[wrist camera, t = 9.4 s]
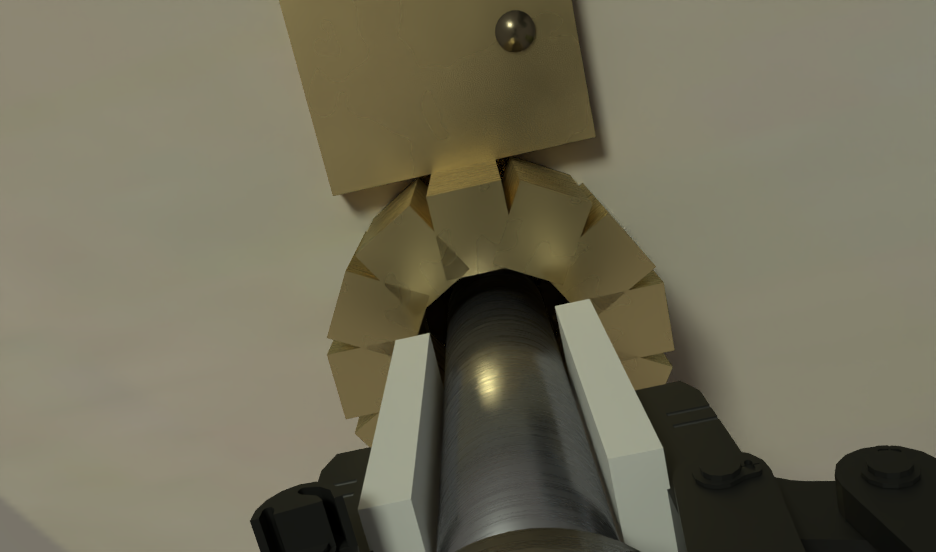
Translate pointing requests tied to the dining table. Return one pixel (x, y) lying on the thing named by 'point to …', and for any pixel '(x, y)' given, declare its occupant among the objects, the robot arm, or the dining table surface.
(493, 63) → the hinge
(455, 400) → the pin
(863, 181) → the dining table surface
